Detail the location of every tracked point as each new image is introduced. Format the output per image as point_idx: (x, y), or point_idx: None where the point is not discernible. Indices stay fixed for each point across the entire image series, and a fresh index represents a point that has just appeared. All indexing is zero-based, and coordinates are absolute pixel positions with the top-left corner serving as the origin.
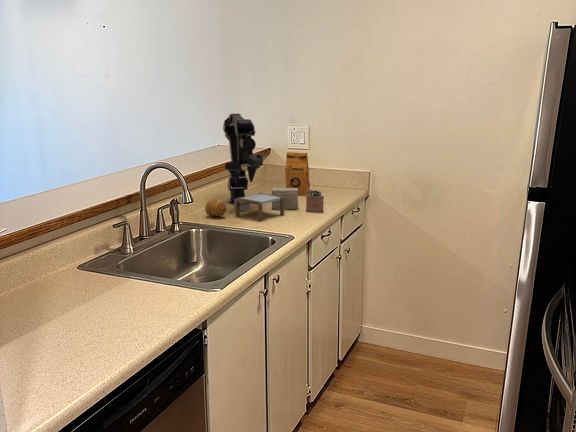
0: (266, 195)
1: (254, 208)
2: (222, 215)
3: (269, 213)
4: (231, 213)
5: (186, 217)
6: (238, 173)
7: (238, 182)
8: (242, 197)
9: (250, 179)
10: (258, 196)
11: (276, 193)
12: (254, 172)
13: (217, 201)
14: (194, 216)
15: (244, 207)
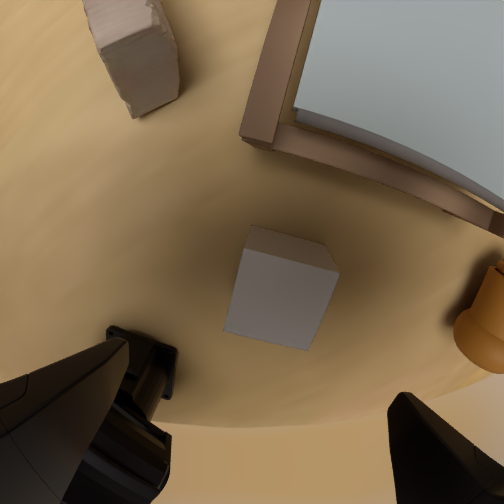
0: (339, 13)
1: (215, 210)
2: (495, 266)
3: (303, 52)
4: (402, 273)
5: (482, 379)
6: (499, 490)
7: (415, 407)
8: (233, 323)
9: (115, 377)
10: (425, 73)
11: (155, 4)
12: (10, 400)
13: (500, 343)
14: (471, 370)
15: (308, 246)
